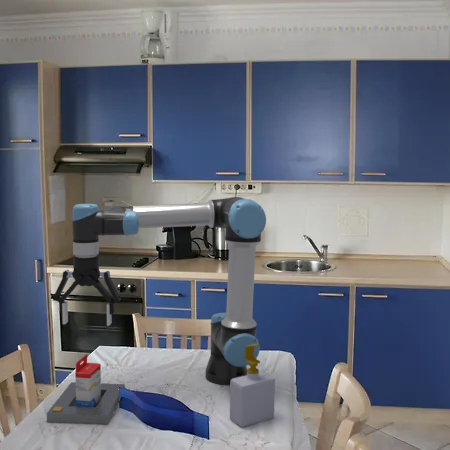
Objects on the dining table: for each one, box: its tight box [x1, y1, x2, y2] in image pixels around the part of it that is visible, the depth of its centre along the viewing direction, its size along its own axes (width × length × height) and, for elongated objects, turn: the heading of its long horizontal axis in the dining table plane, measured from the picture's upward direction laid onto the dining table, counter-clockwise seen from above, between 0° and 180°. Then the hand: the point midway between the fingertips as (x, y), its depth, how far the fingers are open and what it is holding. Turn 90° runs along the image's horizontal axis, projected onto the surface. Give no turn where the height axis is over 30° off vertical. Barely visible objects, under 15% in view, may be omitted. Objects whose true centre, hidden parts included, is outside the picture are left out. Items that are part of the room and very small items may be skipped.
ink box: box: [74, 353, 102, 407], centre depth 170 cm, size 8×5×15 cm, turn 170°
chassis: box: [46, 381, 126, 425], centre depth 171 cm, size 18×22×3 cm
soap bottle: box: [229, 343, 276, 428], centre depth 163 cm, size 12×7×23 cm, turn 123°
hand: (87, 323), depth 168 cm, fingers open, 13 cm apart
